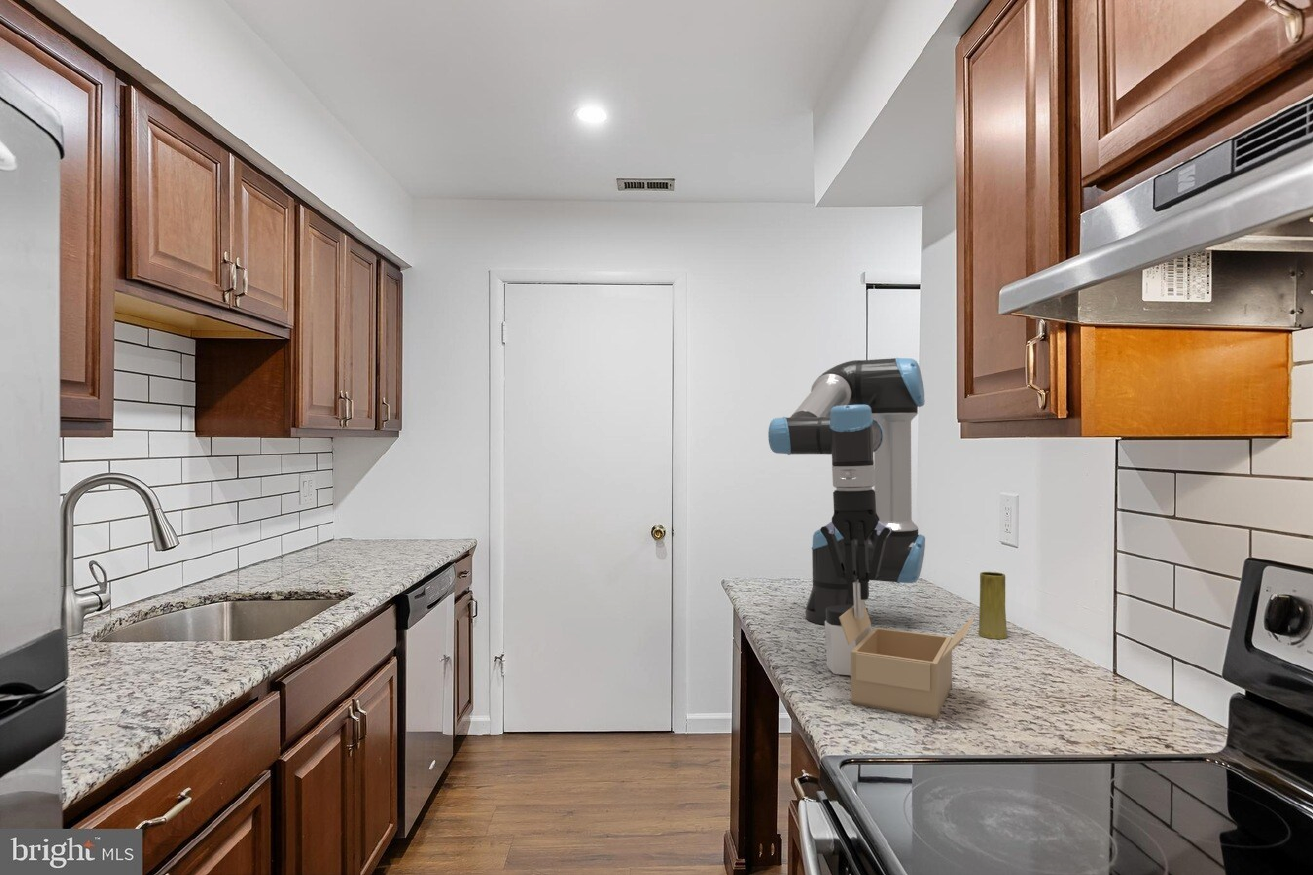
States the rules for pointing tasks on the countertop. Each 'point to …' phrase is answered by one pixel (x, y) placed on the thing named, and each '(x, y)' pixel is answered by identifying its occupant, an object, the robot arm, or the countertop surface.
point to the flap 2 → (958, 637)
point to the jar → (839, 641)
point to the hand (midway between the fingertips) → (859, 616)
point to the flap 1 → (853, 624)
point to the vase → (992, 606)
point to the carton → (901, 672)
